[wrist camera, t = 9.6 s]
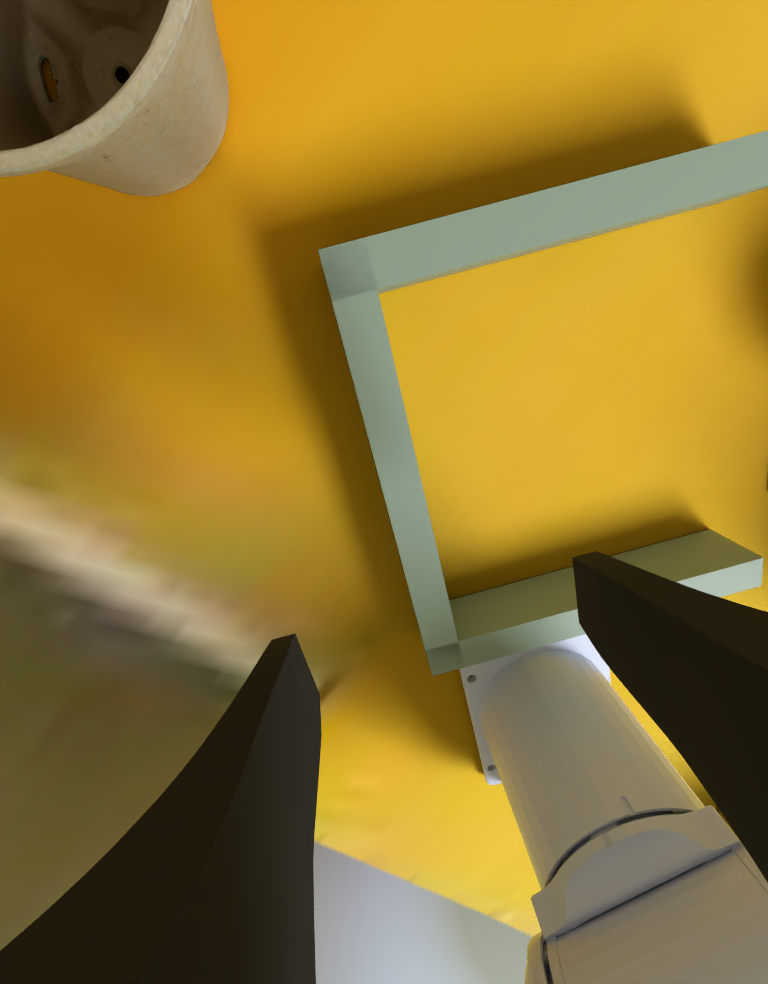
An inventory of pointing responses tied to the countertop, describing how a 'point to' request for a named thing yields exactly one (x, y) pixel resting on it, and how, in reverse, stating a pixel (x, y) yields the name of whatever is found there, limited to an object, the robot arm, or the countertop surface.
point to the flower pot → (112, 91)
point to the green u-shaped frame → (354, 295)
